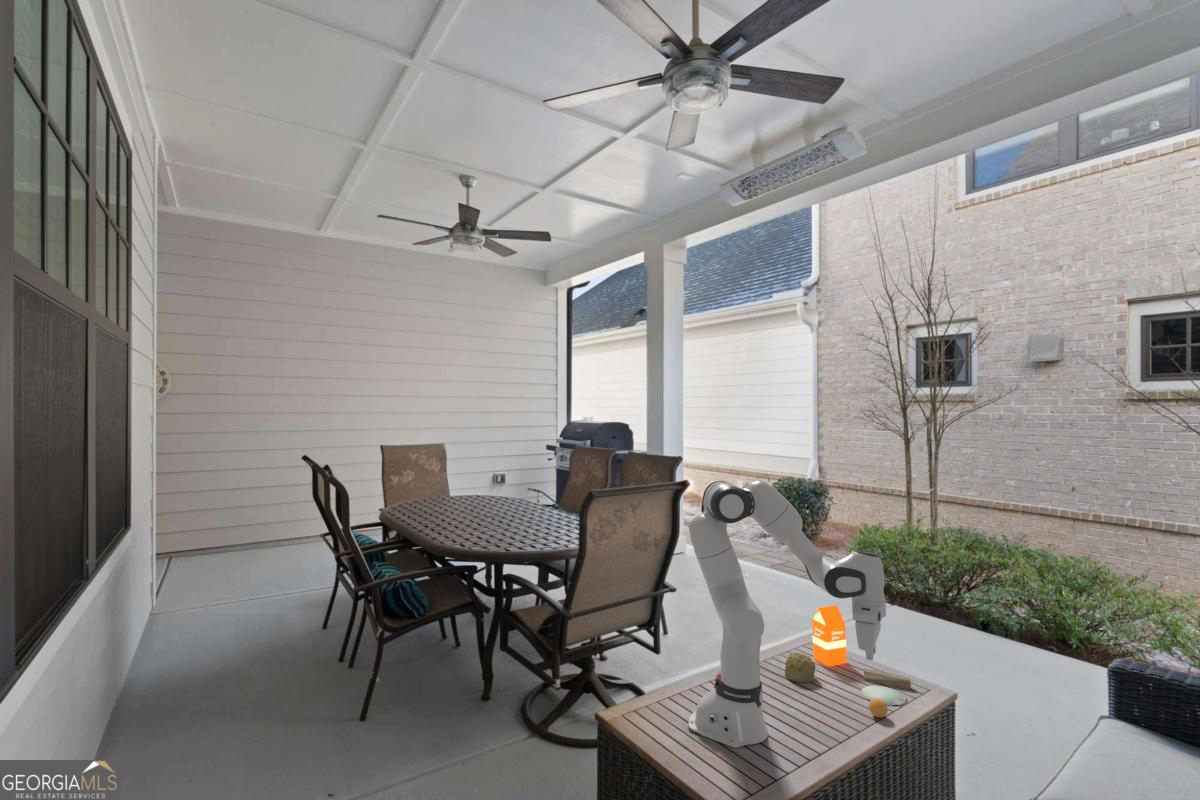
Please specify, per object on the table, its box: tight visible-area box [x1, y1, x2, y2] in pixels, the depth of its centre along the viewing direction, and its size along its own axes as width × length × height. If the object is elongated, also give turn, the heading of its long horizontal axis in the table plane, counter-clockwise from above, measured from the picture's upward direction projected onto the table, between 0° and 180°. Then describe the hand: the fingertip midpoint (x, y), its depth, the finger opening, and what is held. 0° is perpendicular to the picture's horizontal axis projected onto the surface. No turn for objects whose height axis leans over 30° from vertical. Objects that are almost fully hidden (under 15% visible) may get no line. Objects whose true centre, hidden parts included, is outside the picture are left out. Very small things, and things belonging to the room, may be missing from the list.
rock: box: [784, 652, 816, 684], centre depth 188 cm, size 10×11×10 cm
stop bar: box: [863, 668, 912, 690], centre depth 182 cm, size 2×14×3 cm, turn 57°
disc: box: [861, 685, 907, 707], centre depth 174 cm, size 13×13×1 cm
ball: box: [868, 699, 888, 718], centre depth 161 cm, size 5×5×5 cm
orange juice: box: [811, 605, 848, 667], centre depth 201 cm, size 8×9×20 cm
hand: (871, 656), depth 155 cm, fingers open, 3 cm apart
